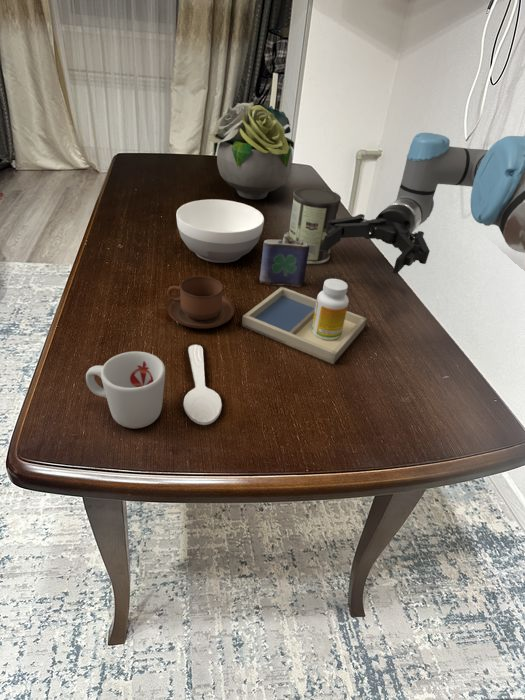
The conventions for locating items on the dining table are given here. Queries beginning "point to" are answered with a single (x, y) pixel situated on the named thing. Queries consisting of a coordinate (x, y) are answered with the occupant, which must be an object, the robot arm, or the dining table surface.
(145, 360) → the cup
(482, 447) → the dining table surface
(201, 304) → the cup and saucer
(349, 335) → the sorting tray
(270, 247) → the flask
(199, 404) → the spoon
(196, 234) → the bowl
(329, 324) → the supplement bottle
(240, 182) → the flower arrangement
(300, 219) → the coffee can
